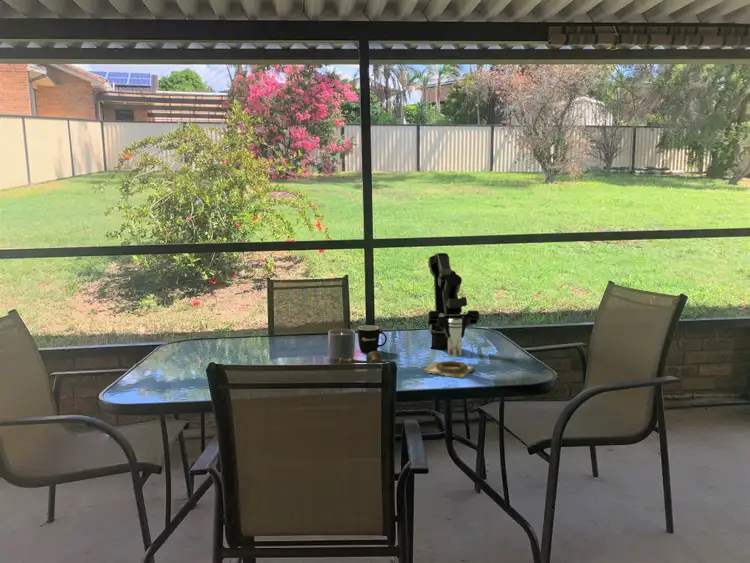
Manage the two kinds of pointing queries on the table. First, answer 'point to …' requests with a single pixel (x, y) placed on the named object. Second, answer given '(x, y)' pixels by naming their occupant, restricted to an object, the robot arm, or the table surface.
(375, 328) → the mug
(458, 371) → the collar
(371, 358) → the kendama
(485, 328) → the table surface
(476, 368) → the table surface
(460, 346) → the cylinder
